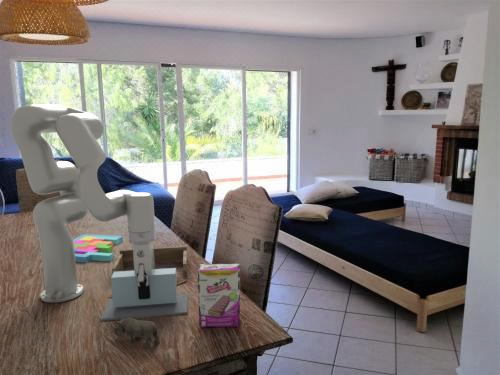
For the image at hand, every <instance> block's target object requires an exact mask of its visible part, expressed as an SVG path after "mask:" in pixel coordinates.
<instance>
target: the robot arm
mask: <svg viewBox="0 0 500 375" xmlns="http://www.w3.org/2000/svg"><path fill="white" fill-rule="evenodd" d="M10 118H11V119H10V124H9V126H10V131H11V135H12V138H13V140H14V142H15V144H16V146H17V148H18V151H19V154H20V157H21V160H22V163H23V167H24V170H25V173H26V177H27V181H28V183H29V186H30V189H31V190H32V191H33V193H34V194H36V195H39V196H40V195H42V196H45V195H50V194H54V193H58V192H59V194H60V195H58V196H54V197H50V198H46V199H44V200H41V201H40V202H38V203H37V204H36V205H35V206H34V208H33V211H32V217H33V218H32V220H33V223H34V224H35V227H36V230H37V235H38V239H39V240H38V241H39V246H40V254H41V255H40V256H41V266H42V274H43V283H44V290H42V291H41V293H40V295H39V298H40V300H41V301H42V302H45V303H63V302H66V301H67V302H68V301H71V300H73V299H75V298H77V297H79V296H81V295H82V294H83V292H84V285H82V284H80V283H79V282H78V273H77V262H76V261H75V250H74V241H73V239H74V238H73V234H72V233H71V232H70V231H69V229H68V227H67V226H69V225H70V224H73V223H74V224H75V223H76V222H79V221H82V220H83V219H85V218H86V217H87V216H88V213H90V215H91V216H92V217H94V218H95V219H96V220H97V221H100V222H105V223H106V222H110V221H113V220H115V219H118V218H120V217H121V218H122V217H124V216H126V217H127V218H126V219H127V220H126V221H127V232H128V233H127V235H128V243H129V244H132V249H133V259H134V265H133V271H134V272H135V276H136V277H138V296H139V299H150V285H148V276H150V277H151V276H152V275H153V272H154V269H156V268H155V267H156V264H155V260H154V248H155V247H154V241H156V224H155V219H156V218H155V204H154V196H153V194H151V192H146V191H145V192H144V191H140V192H136V191H132V190H129V189H119V190H115V191H111V192H107V193H105V191H104V190H103V188H102V186H101V184H100V182H99V179H98V170H99V167H101V165H102V164H104V163H105V161H106V159H107V156H106V153H105V151H104V150H103V148H102V147H101V145H100V144H99V142H98V140H99V139H100V138H102V136H103V133H104V126H103V123H102V121H101V120H100V118H99V117H97V116H96V115H95V114H93V113H90V112H88V111H83V110H81V109H77V108H74V107H72V106H67V105H64V104H43V103H35V104H34V103H31V104H24V105H22V106H19V107H18V108H16V109H15V111H14V112H13V114H12V115H11V117H10ZM47 133H48V134H49V133H56V134H57V136H58V138H59V140H60V141H61V143H62V144H63V145H64V147H65V149H66V150H67V152H68V154H69V155H70V157H71V159H72V161H73V162H74V164H73V163H72V162H70V161H66V160H58V161H56V160H55V157H54V155H53V150H52V148H51V146H50V144H49V142H48V141H47V140H46V139H45V138H44V137H43V136H42V134H47ZM145 273H146V275H144V274H145ZM144 278H146V280H144Z"/></svg>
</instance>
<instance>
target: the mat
mask: <svg viewBox="0 0 500 375" xmlns="http://www.w3.org/2000/svg"><path fill="white" fill-rule="evenodd" d="M188 300H189V294H188V293H183V294H181V293H180V294H177V303H164V304H150V305H136V306H123V307H113V299H108V301H107V303H106V306H105V307H104V309H103V312H102V313H101V317H100V318H99V320H100V322H103V321H104V322H105V321H114V320H115V321H118V320H120V319H121V317H122V318H123V320H124V319H126V318H133V319H141V318H151V317H152V318H153V317H166V316H178V315H188V310H189V309H188V305H189V304H188V302H189V301H188Z"/></svg>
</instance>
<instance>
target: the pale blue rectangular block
mask: <svg viewBox="0 0 500 375" xmlns="http://www.w3.org/2000/svg"><path fill="white" fill-rule="evenodd" d="M144 275H146V273H145V274H144ZM176 277H177V267H172V268H171V267H170V268H169V267H168V268H158V269H157V268H154V272H153V275H152V276H151V277H150V276H148V285H150V299H139V296H138V277H136V276H135V272H134V270H122V271H118V272H114V273H113V275H111V277H110V283H111V295H112V297H111V298H112V300H113V307H123V306H136V305H150V304H164V303H177V295H178V286H177V282H176ZM144 280H146V278H144Z"/></svg>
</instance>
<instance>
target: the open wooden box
mask: <svg viewBox="0 0 500 375" xmlns="http://www.w3.org/2000/svg"><path fill="white" fill-rule="evenodd" d="M153 248H154V260H155V265H156V264H169V263H182V271H183V275H182V276H183V278H188V245H175V246H162V247H161V246H160V247H159V246H158V247H157V246H155V247H153ZM125 266H134V259H133V248H123V249H119V254H118V257H117V258H116V259H115V262H114V264H113V266H112V267H111V274H112V275H113V273H114V272H118V271H123V269H124V267H125ZM112 275H111V276H112Z"/></svg>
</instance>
